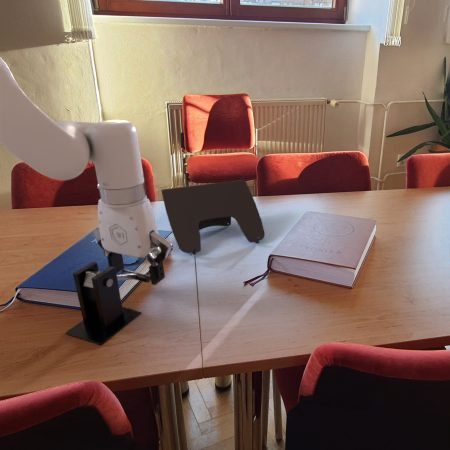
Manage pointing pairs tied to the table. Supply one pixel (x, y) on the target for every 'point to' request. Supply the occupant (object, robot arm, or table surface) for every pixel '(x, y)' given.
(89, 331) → the bracket
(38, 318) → the table surface
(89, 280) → the lever
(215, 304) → the table surface
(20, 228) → the table surface
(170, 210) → the laptop tray
